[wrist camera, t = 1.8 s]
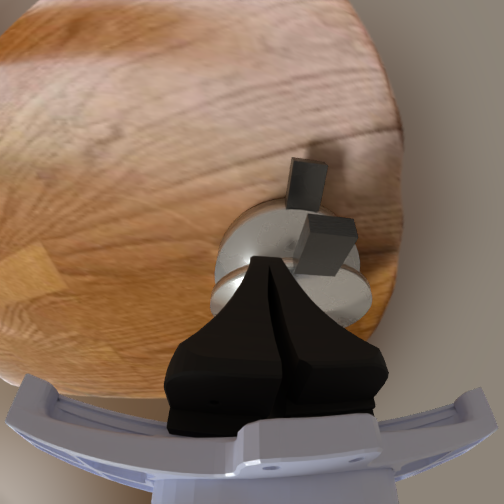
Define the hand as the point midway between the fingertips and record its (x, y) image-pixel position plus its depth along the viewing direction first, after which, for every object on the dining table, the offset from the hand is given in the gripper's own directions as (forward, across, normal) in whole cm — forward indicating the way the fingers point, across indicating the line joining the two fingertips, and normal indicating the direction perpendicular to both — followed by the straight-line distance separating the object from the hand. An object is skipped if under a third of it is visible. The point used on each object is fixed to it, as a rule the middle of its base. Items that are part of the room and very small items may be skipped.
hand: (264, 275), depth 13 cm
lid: (+5, -3, +5) cm, 8 cm away
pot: (+10, -3, +6) cm, 12 cm away
